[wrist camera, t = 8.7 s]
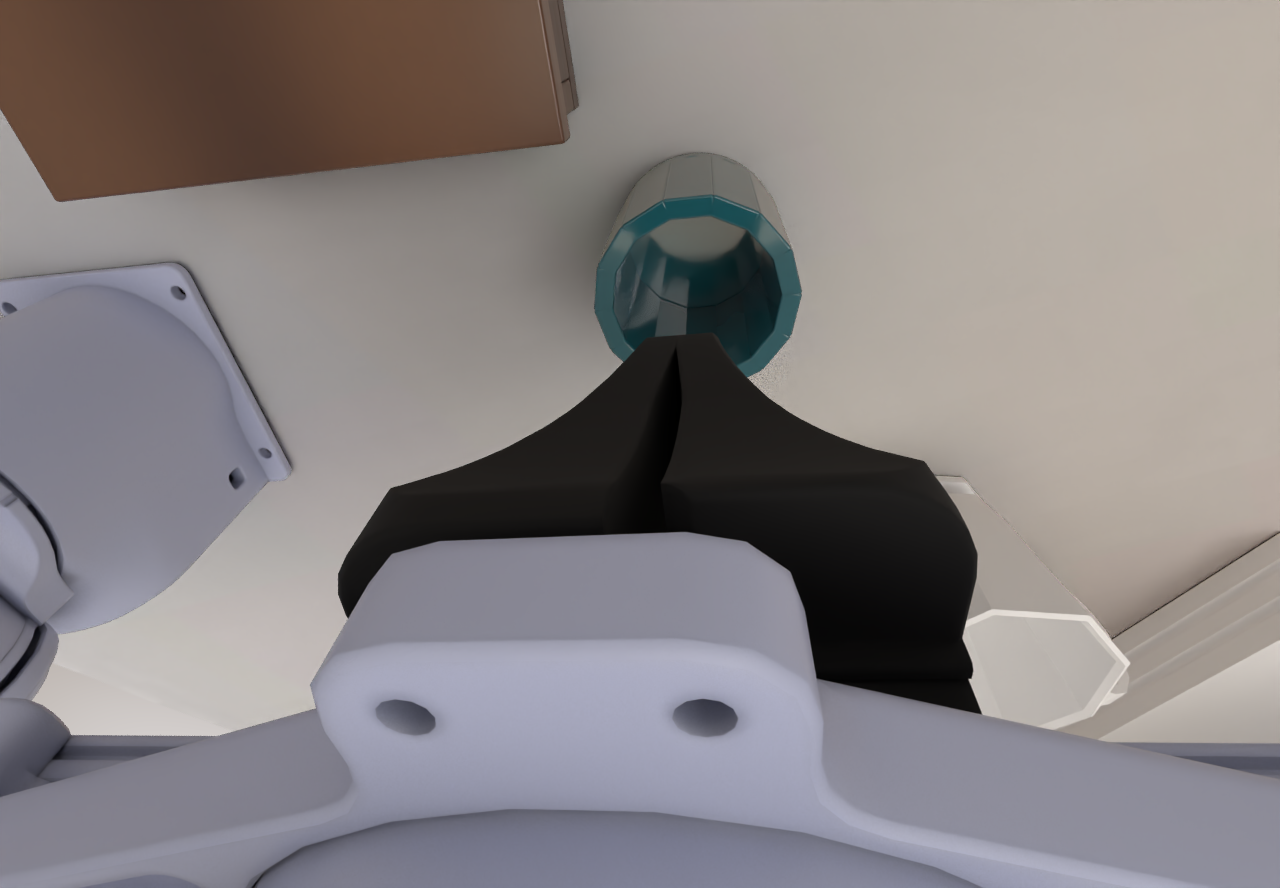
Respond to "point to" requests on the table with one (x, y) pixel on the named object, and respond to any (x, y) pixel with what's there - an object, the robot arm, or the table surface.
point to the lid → (269, 87)
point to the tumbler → (699, 262)
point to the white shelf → (1203, 663)
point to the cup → (1030, 630)
